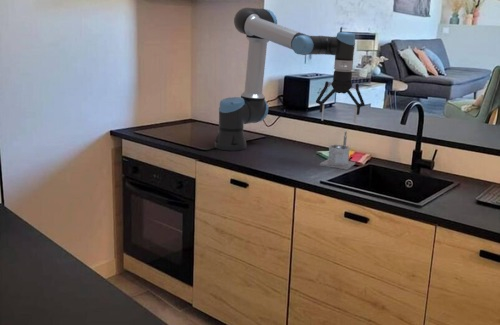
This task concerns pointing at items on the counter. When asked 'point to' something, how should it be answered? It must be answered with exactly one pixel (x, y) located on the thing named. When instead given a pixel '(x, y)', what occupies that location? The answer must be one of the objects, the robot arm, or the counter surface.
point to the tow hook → (345, 139)
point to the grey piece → (338, 155)
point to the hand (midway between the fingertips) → (338, 121)
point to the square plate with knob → (337, 165)
